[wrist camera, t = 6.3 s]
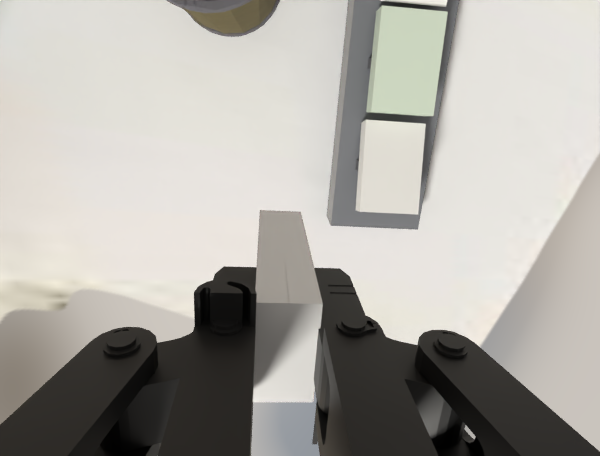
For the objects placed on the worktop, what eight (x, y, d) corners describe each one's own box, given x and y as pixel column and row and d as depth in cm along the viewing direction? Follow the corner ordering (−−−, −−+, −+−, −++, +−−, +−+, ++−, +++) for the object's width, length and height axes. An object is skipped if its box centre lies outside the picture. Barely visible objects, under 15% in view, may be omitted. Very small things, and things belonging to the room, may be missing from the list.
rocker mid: (366, 112, 40) (371, 111, 39) (376, 11, 38) (382, 5, 36) (425, 116, 41) (433, 116, 39) (438, 17, 39) (447, 11, 37)
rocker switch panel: (326, 215, 49) (332, 228, 45) (362, -137, 38) (373, -164, 34) (410, 219, 50) (423, 232, 46) (469, -123, 39) (494, -148, 35)
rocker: (355, 210, 43) (359, 211, 41) (361, 122, 42) (366, 119, 40) (411, 213, 44) (418, 214, 42) (418, 126, 43) (425, 123, 41)
